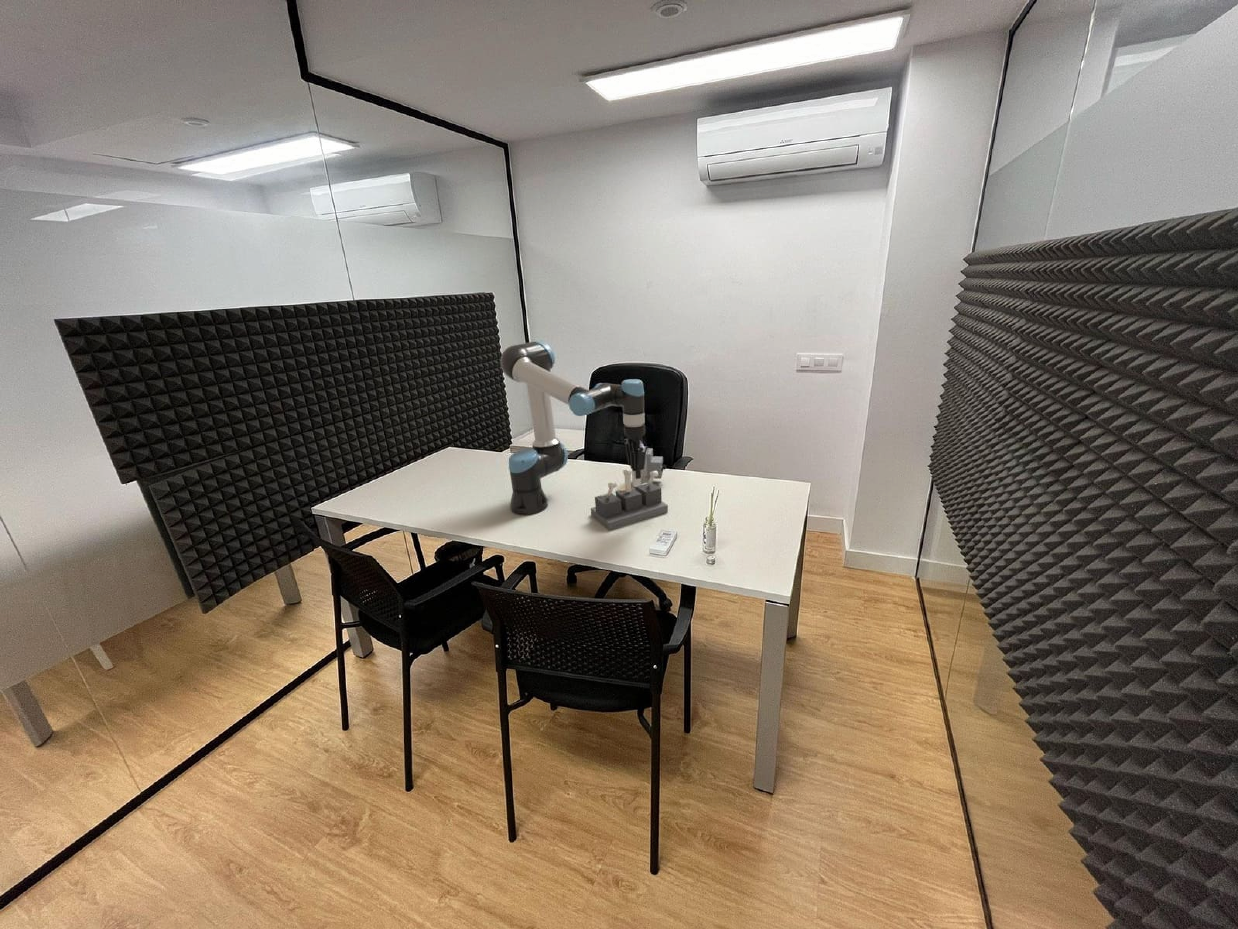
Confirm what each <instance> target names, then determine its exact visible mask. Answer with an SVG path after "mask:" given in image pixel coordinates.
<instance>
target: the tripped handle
mask: <svg viewBox="0 0 1238 929" xmlns="http://www.w3.org/2000/svg"><path fill="white" fill-rule="evenodd" d="M622 471H623V472H622V473H623V476H624V489H625V491H626V492H627V493H628V492H631V487H632V469H631V468H626V469H623V470H622Z"/></svg>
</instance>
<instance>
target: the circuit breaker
mask: <svg viewBox="0 0 1238 929" xmlns="http://www.w3.org/2000/svg"><path fill="white" fill-rule="evenodd" d="M666 469H667V464H664V456H657V455H655V456H654V449H653V448H652V447H651V448H649V447H647V451H646V457H645V466H644V469H643V470H641V484H643V483H648V481H649V479H650V477H651V476H650V472H652V471H657V472H658V476H656V477H654V479H653V481H652V483H653V482H654V480H655V479H656V480H658V479H662V477H663V473H664V470H665V471H666ZM653 484H654V483H653Z"/></svg>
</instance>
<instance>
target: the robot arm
mask: <svg viewBox="0 0 1238 929" xmlns="http://www.w3.org/2000/svg"><path fill="white" fill-rule="evenodd" d="M555 363H556V357H555V353H554V351H553V350H552V348H551V347H550V346H549V345H548V343H545V342H544V341H530V342H525V343H520V344H515V345H514V344H513V345H510V346H508V347H507V348H505V350H504V351H503V352H502V353H501V356H500V363H499V364H500V367H501V370H502V372H503V374H505V375H506V376H507V377H508V378H509V379H511V380H513V382H514V381H515V382H517V383H524V384H526V389H527V396H528V402H529V408H530V414H531V420H532V426H533V433H534V441H533V442H532V444H531V445H532V448H524V449H521V450H518V451H515V452H513V453H512V454H511V455H510V456H509V457H508V470H509V474H510V481H511V488H512V493H511V499H510V504H509V506H510V510H511V512H512V513H514V514H516V515H519V516H520V515H521V516H524V515H525V516H527V515H529V516H530V515H534V514H538V513H541V512H542V511H544V510H545V509H547V507H548V498H547V496H546V494H545V492H544V490H543V487H542V480H541V479H542V478H544V477H546V476H549V475H551V474H553V473H556V472H558V471H560V470H562V469H563V468H564V467H565V466H566V465H567V463H568V458H569V453H568V451H567V448H566V447H565V445H564V444H563V443H562V442H561V439H560V438H559V437H557V435H556V429H555V422H554V414H553V407H552V406H553V405H552V400H551V397H552V398H553V399H556V400H558V401H560V402H562V403H564V404H566V405H568V407H569V410H570V411H571V412H572V414H573V415H575V416H577V417H583V416H588V415H589V414H593V413H595V412H597V411H599V410H603V409H606V408H608V407H612V406H613V407H621V408H622V417H623V418H622V421H623V424H624V425H623V434H624V436H625V437H626V438H625V439H623V444H624V447H625V452H626V459H627V465H628V466H630V469H631V471H632V473H631V484H632V487H634V488H635V487H637V486H641V470H643V469H644V466H645V457H646V451H647V448H648V446H647V445H645V446H644V440H643V439H644V438H643V437H644V436H645V434H646V425H645V422H646V421H645V420H646V419H645V415H646V414H645V390H644V383H643V381H642V380H640V379H637V378H635V379H633V378H631V379H630V378H629V379H624V380H623V381H622V382H621V384H617V383H616V384H615V383H610V382H609V383H608V382H604V383H603V382H602V383H601V382H599V383H597V384H595V386H594V387H593V388H592V389H587V388H584V387H582V386H579V385H577V384H576V383H574V382H572V381H569V380H567V379H565V378H564V377H561V376H559V375H557V374H555V373H554V372H551V369H553V367H554V365H555Z"/></svg>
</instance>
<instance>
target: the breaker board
mask: <svg viewBox="0 0 1238 929" xmlns="http://www.w3.org/2000/svg"><path fill="white" fill-rule="evenodd" d="M650 476H651V477H650V479H649V481H648V483H643V484H641V486H637V487H634V488H633V486H631V492H628V493H627V492H626V491H625V488H622V489H618V490H616V491H615V494H614V493H613V490H614V489H615V488H617V487H618V484H617V482H616V481H612V482H611V481H610V482H608V483H607V486H608V490H607V492H606V493H604V494H603V493H602V494H600V495H597V496H594V504H595V506H593V507H590V515H591V516H592V517H593V518H594V519H596V521H597V522H599V523H600V524H601V525H602V526H603V527H605V528H606V529H607V530H608V531H611V530H614V529H618V528H621V527H624V526H627V525H631V524H634V523H637V522H640V521H644V520H648V519H650V518H652V517H656V516H659V515H662V514H663V515H664V514H666V513H668V512H669V509H668V508H669V507H668V504H667V503H665V502H664V501H662V499H663V498H662V488H661V487H660V486H658V485H657V484H655V483H652V481H653V482H654V480H655V479H654V477H656V476H658V472H657V471H652V472H650ZM653 479H654V480H653Z"/></svg>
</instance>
